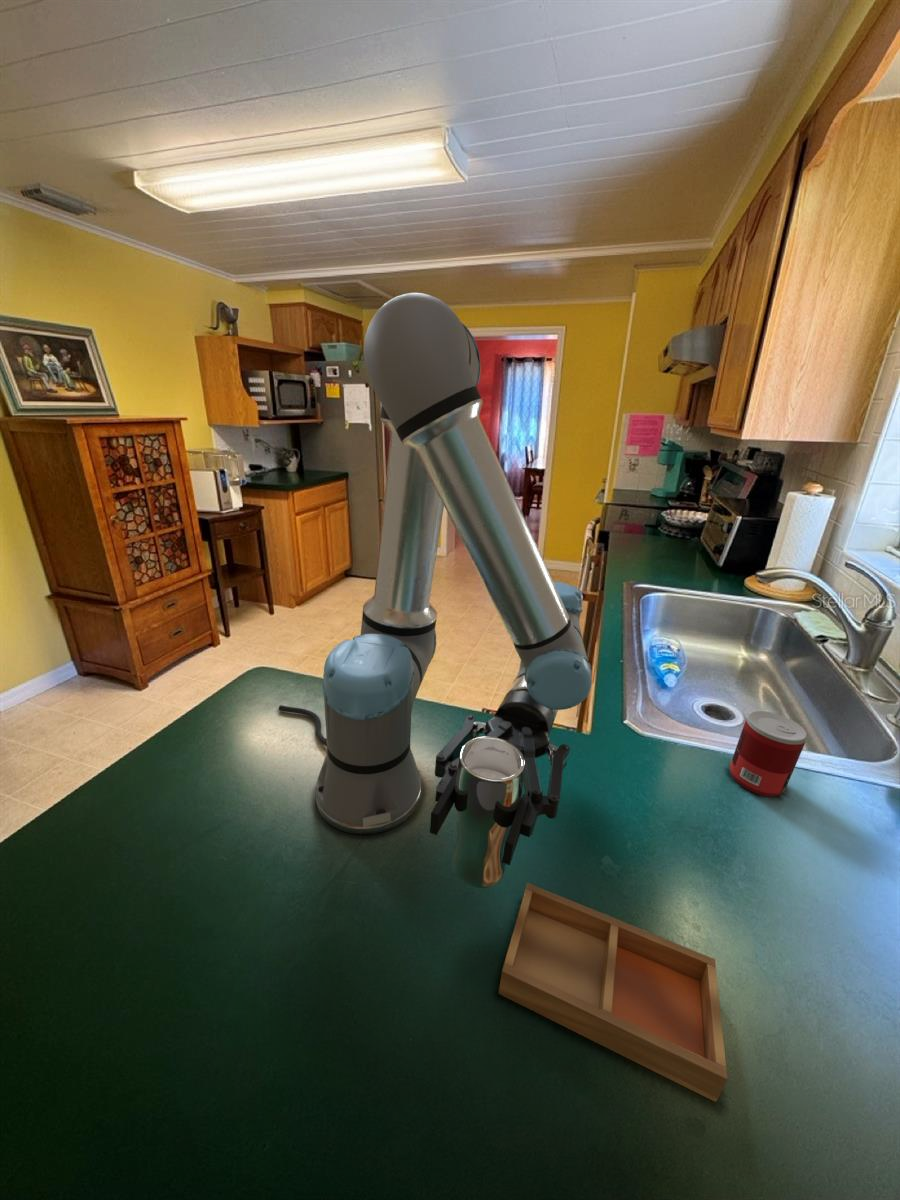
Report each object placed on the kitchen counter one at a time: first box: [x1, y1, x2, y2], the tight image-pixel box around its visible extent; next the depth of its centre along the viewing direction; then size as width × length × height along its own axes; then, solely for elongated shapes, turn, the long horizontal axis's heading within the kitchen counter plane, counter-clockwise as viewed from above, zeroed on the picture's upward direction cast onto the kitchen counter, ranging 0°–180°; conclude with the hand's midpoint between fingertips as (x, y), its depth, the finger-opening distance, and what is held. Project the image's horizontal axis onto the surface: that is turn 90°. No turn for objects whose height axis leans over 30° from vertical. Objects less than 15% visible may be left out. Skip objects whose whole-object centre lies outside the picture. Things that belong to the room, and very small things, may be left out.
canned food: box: [729, 710, 808, 797], centre depth 75 cm, size 8×8×11 cm
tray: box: [498, 882, 729, 1103], centre depth 47 cm, size 10×19×4 cm, turn 67°
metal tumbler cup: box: [450, 736, 525, 889], centre depth 50 cm, size 7×7×15 cm
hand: (469, 838), depth 45 cm, fingers closed on metal tumbler cup, 7 cm apart
